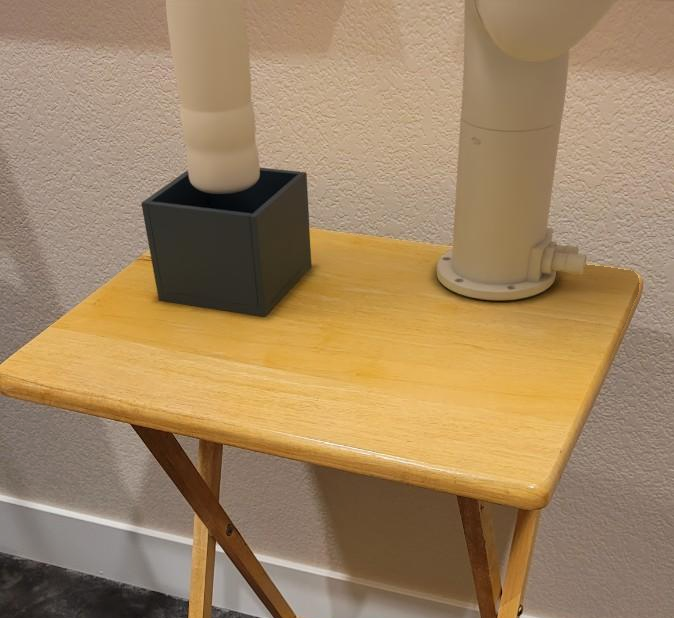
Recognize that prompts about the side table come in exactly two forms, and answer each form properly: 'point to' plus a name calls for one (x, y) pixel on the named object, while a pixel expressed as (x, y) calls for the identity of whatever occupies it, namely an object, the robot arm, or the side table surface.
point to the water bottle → (214, 93)
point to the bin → (230, 242)
